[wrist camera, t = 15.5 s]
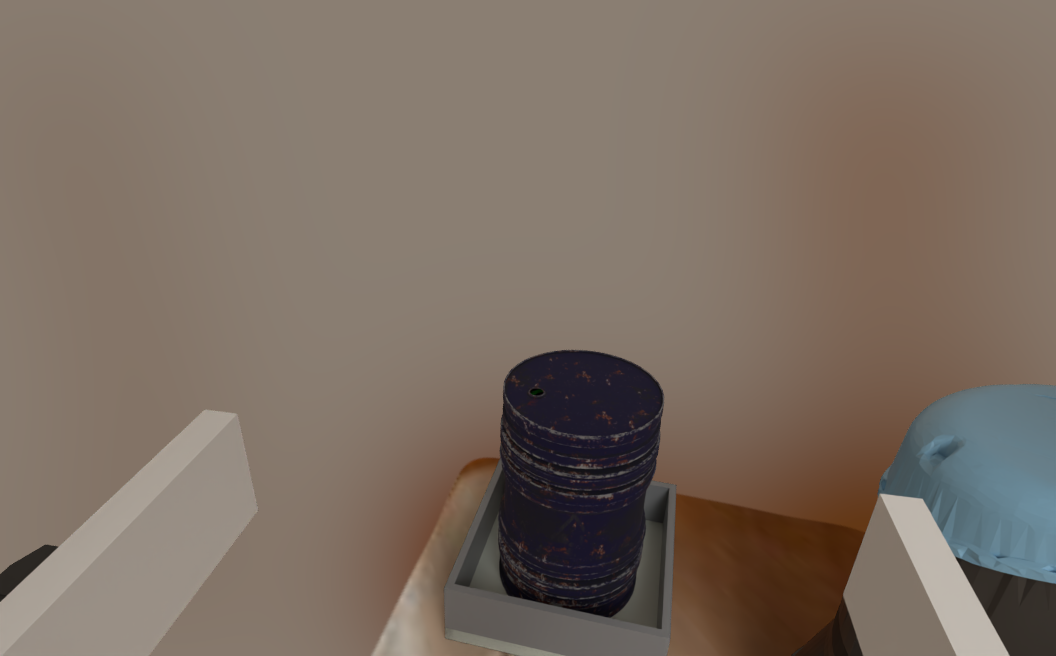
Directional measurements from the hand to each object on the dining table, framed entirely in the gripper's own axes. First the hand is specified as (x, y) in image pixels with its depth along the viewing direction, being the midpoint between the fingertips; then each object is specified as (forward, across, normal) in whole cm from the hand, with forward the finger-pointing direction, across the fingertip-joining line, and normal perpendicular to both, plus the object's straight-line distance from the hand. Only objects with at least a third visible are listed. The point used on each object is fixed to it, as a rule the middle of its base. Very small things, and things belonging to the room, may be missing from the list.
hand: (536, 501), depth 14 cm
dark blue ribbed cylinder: (+23, 0, -27) cm, 35 cm away
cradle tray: (+23, 0, -28) cm, 36 cm away
